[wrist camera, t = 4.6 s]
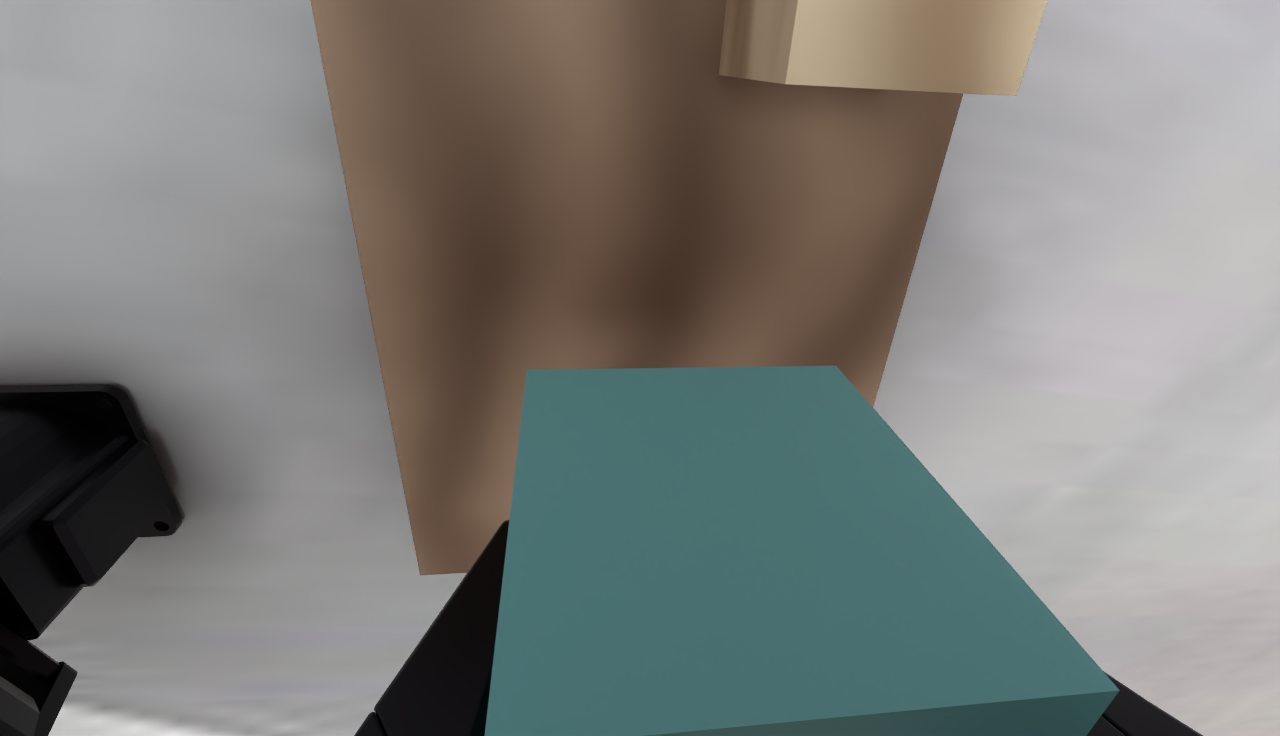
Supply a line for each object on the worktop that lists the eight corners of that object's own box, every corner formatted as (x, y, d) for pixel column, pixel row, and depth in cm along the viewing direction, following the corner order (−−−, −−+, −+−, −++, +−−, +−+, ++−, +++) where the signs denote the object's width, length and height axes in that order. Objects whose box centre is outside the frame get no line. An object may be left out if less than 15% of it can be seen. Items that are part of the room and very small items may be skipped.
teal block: (538, 594, 11) (519, 1000, 6) (526, 369, 9) (483, 749, 4) (784, 579, 12) (935, 938, 7) (835, 365, 9) (1119, 690, 5)
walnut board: (426, 553, 25) (420, 575, 24) (283, -249, 13) (257, -277, 12) (821, 532, 27) (831, 551, 26) (1009, -166, 15) (1042, -182, 14)
